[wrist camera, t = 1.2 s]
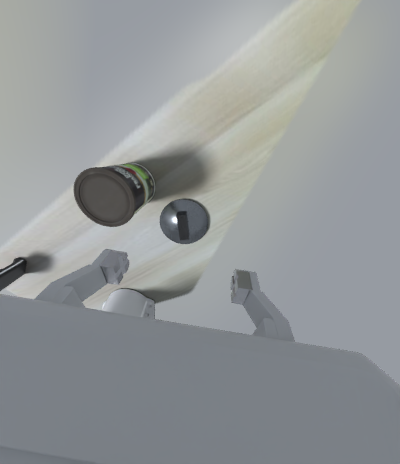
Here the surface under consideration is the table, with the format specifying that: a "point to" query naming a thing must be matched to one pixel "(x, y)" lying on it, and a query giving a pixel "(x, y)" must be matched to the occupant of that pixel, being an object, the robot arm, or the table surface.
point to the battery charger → (12, 272)
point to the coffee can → (113, 192)
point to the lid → (183, 221)
